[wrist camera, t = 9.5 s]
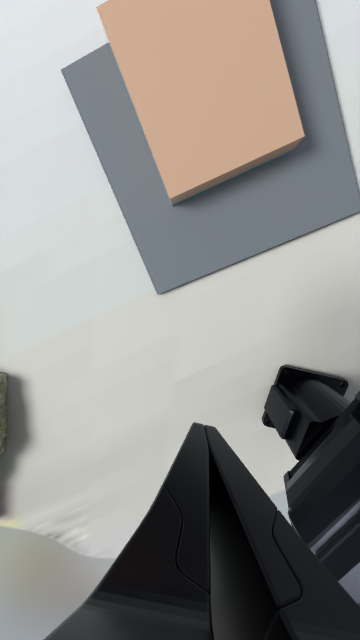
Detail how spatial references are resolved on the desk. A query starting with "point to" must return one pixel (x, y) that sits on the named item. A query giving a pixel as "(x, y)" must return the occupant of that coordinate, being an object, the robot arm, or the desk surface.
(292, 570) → the robot arm
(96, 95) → the mat
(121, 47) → the tile
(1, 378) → the decorative tile
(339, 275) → the desk surface
